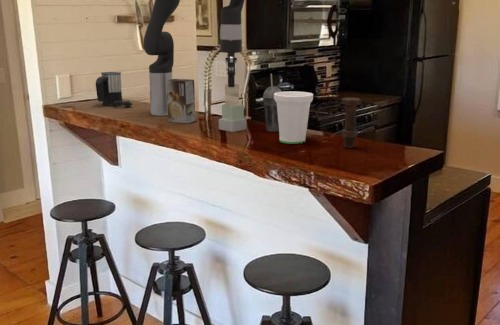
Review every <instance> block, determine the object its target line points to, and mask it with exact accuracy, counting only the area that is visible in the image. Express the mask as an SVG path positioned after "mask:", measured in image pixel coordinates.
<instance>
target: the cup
mask: <svg viewBox="0 0 500 325" xmlns="http://www.w3.org/2000/svg"><path fill="white" fill-rule="evenodd" d="M274 100H275V101H276V103H277V113H278V124H279V131H278V134H279V135H278V136H279V138H278V139H279V142H280V143H283V144H288V145H298V144H299V143H300V144H303V142H304V143H306V135H307V129H308V123H309V122H308V121H309V116H310V107H311V103H312V102H313V100H314V93H312V92H307V91H296V90H295V91H291V90H290V91H282V92H277V93H275V94H274Z"/></svg>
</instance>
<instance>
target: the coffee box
mask: <svg viewBox="0 0 500 325" xmlns="http://www.w3.org/2000/svg"><path fill="white" fill-rule="evenodd" d="M166 86H167V105H168V115H167V121H168V123H176V124H187V125H188V124H191V123H195V122H196V100H195V99H196V97H195V96H196V95H195V79H186V78H172V79H170V80H166ZM194 121H195V122H194Z"/></svg>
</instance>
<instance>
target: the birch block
mask: <svg viewBox="0 0 500 325" xmlns="http://www.w3.org/2000/svg"><path fill="white" fill-rule="evenodd" d="M224 104H225V106H239V104H240V85H239V83H237V84H236V83H235V86H234V87H228V83H225V86H224Z"/></svg>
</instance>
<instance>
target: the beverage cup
mask: <svg viewBox="0 0 500 325" xmlns="http://www.w3.org/2000/svg"><path fill="white" fill-rule="evenodd" d="M269 75H270V86H268V87H266V89H265V90H264V92H263V94H262V99H263V106H264V107H263V108H264V118H265V128H266V131H267V132H271V133H273V132H279V124H278V113H277V103H276V101H275V100H274V94H275V93H277V92H283V91H282V90H281V88H280V87H278V86H275V85H273V73H270V74H269Z"/></svg>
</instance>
